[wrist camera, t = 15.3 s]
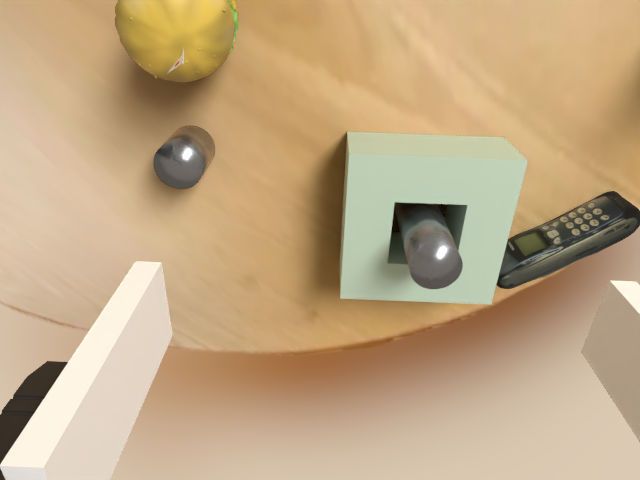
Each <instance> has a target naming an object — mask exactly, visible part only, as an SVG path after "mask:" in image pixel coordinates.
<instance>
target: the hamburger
mask: <svg viewBox="0 0 640 480" xmlns="http://www.w3.org/2000/svg"><path fill="white" fill-rule="evenodd" d="M115 13H116V17H115V26H116V28H117V31H118V34H119V36H120V40H121V43H122V44H123V46H124V48H125V50H126V51H127V53H128V54H129V56H130V57H131V58H132V59H133V60H134V61H135V62H136V63H137V64H138V65H139V66H140V67H141V68H142V69H144V70H145V71H147V72H148V73H150V74H152V75H154V77H155V78H157V77H159V78H161V79H164V80H167V81H173V82H189V81H195V80H198V79H201V78H204V77H206V76H208V75H210V74H211V73H213V72H214V71H215V70H217V69H218V68H219V67H220V66H221V65H222V63H223V62H224V61H225V60H226V58H227V56H228V54H229V52H230V51H231V50H232V49H233V43H234V40H235V37H236V32H237V30H238V7H237V3H236V0H118V2H117V4H116V6H115Z"/></svg>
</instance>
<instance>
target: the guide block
mask: <svg viewBox="0 0 640 480" xmlns="http://www.w3.org/2000/svg"><path fill="white" fill-rule="evenodd" d="M527 162H528V160H527V159H526V158H525V157H524V156H523V155H522V154H521V153H520V152H519V151H518V150H517V149H516V148H515V147H514V146H513V145H512V144H511V143H510V142H509V141H508V140H507V139H506V138H505V137H486V136H458V135H431V134H403V133H376V132H348V131H347V144H346V161H345V178H344V196H343V213H342V230H341V247H340V299H365V300H391V301H416V302H442V303H468V304H492V300H493V296H494V292H495V288H496V284H497V280H498V276H499V272H500V268H501V264H502V260H503V257H504V253H505V249H506V245H507V241H508V237H509V233H510V229H511V225H512V221H513V217H514V213H515V209H516V206H517V202H518V198H519V194H520V190H521V186H522V182H523V178H524V174H525V170H526V166H527ZM395 202H401V203H427V204H447V208H446V214H445V222H446V224H447V227H448V229H449V231H450V233H451V236H452V238H453V240H454V243H455V245H456V247H457V249H458V252H459V254H460V256H461V259H462V262H463V268H462V272H461V274H460V276H459V277H458V279H457V280H456V281H455V282H453V283H452V284H451V285H449V286H447V287H444V288H441V289H427V288H423V287H421V286H419V285H418V284H417V283H415V281H414V280H413V279H412V277H411V274H410V270H409V266H408V262H407V258H406V254H405V250H404V246H403V242H402V238H401V234H400V232H391V230H392V221H393V213H394V204H395Z"/></svg>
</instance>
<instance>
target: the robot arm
mask: <svg viewBox="0 0 640 480" xmlns="http://www.w3.org/2000/svg"><path fill="white" fill-rule="evenodd" d="M172 335H173V334H172V327H171V321H170V314H169V308H168V301H167V295H166V288H165V281H164V275H163V268H162V262H138V261H135V263H134V264H133V266H132V267H131V269H130V270H129V272H128V273H127V275H126V276H125V278H124V279H123V281H122V282H121V284H120V285H119V287H118V288H117V290H116V291H115V293H114V294H113V296H112V297H111V299H110V300H109V302H108V303H107V305H106V306H105V308H104V309H103V311H102V312H101V314H100V315H99V317H98V318H97V320H96V321H95V323H94V324H93V326H92V327H91V329H90V330H89V332H88V333H87V335H86V336H85V338H84V339H83V341H82V342H81V344H80V345H79V347H78V348H77V350H76V351H75V353H74V355H73V356H72V357H71V359H70V360H69V362H52V361H47V362H46V363H45V364H43V365H42V366H41V367H39V368H38V369H37V370H36V371H34V372H33V373H32V374H30V375H29V376H28V377H27V378H26V379H25V380H24V382H23V383H22V384H21V386H20V387H19V388H18V390H17V391H16V393H15V394H14V397H13V399H10V401H9V402H8V403H7V405H6V406H5V407H4V409H3V410H2V414H1V415H0V480H110V479H111V476H112V474H113V472H114V469H115V467H116V465H117V462H118V460H119V458H120V456H121V453H122V451H123V449H124V446H125V444H126V442H127V439H128V437H129V435H130V432H131V430H132V428H133V426H134V423H135V421H136V419H137V416H138V414H139V412H140V409H141V407H142V405H143V402H144V400H145V398H146V395H147V393H148V391H149V389H150V386H151V384H152V382H153V379H154V377H155V374H156V372H157V370H158V368H159V365H160V363H161V361H162V358H163V356H164V354H165V352H166V349H167V347H168V345H169V342H170V340H171V338H172ZM581 352H582V354H583V355H584V357H585V358H586V360H587V361H588V363H589V364H590V366H591V367H592V369H593V370H594V372H595V374H596V375H597V377H598V378H599V380H600V381H601V383H602V384H603V386H604V387H605V389H606V391H607V392H608V394H609V395H610V397H611V398H612V399H613V401H614V403H615V404H616V406H617V407H618V409H619V410H620V412H621V414H622V415H623V417H624V418H625V420H626V421H627V423H628V424H629V426H630V427H631V429H632V431H633V432H634V434H635V435H636V437H637V438H638V440H639V441H640V285H639V284H638V283H637V282H634V281H632V282H631V281H609V284H608V286H607V289H606V291H605V294H604V296H603V299H602V301H601V304H600V306H599V309H598V311H597V314H596V316H595V319H594V321H593V324H592V326H591V329H590V331H589V334H588V336H587V339H586V341H585V344H584V346H583V348H582V351H581Z"/></svg>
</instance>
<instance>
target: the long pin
mask: <svg viewBox="0 0 640 480" xmlns="http://www.w3.org/2000/svg"><path fill="white" fill-rule="evenodd" d="M394 209H395V214H396V218H397V222H398V226H399V230H400V234H401V238H402V242H403V246H404V250H405V254H406V258H407V262H408V266H409V270H410V274H411V277H412V279H413V280H414V281H415V283H417V284H418V285H419V286H421V287H423V288H427V289H441V288H444V287H447V286H449V285H451V284H452V283H453V282H455V281H456V280H457V279H458V277H459V276H460V274H461V272H462V268H463V262H462V259H461V256H460V254H459V252H458V249H457V247H456V245H455V243H454V240H453V238H452V236H451V233H450V231H449V229H448V227H447V224H446V222H445V220H444V217H443V215H442V213H441V211H440V208H439V206H438V204H427V203H401V202H395V205H394Z"/></svg>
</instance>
